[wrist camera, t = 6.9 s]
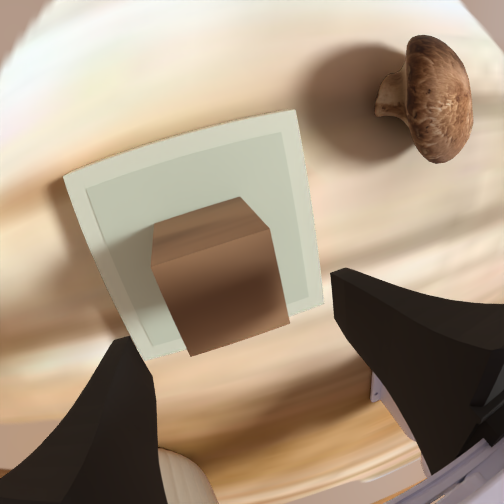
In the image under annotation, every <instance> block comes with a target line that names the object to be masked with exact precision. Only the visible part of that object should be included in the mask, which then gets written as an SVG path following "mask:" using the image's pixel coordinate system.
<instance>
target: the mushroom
mask: <svg viewBox="0 0 504 504" xmlns="http://www.w3.org/2000/svg"><path fill="white" fill-rule="evenodd" d="M375 115H376V116H377V117H380V116H395V117H398V118H400V119H401V120H403V121H404V122H405V123H406V125H407V126H408V127H409V130H410V132H411V135H412V139H413V142H414V144H415V146H416V147H417V149H418V151H419V152H420V153H421V154H422V155H423V157H425V158H426V159H427V160H428V161H429V162H432V163H435V164H437V163H445V162H447V161H449V160H451V159H453V158H454V157H455V156H456V155H457V154H458V153H459V152H460V151H461V149H462V148H463V147H464V145H465V143H466V142H467V140H468V139H469V136H470V133H471V129H472V126H473V111H472V98H471V90H470V83H469V78H468V75H467V73H466V70H465V67H464V65H463V63H462V61H461V60H460V59H459V57H458V56H457V54H456V53H455V52H454V51H453V50H452V49H451V48H450V47H449V46H448V45H446V44H445V43H444V42H442V41H441V40H439V39H437V38H434V37H432V36H427V35H418V36H415V37H412V38H411V39H410V41H409V42H408V45H407V50H406V60H405V63H404V65H403V67H402V69H401V70H400V71H399V72H398V73H392V74H389V75H388V76H386V78H385V79H384V80H383V82H382V83H381V86H380V88H379V91H378V94H377V97H376V101H375Z"/></svg>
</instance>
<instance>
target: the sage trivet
mask: <svg viewBox="0 0 504 504" xmlns="http://www.w3.org/2000/svg"><path fill="white" fill-rule="evenodd" d="M63 179H64V182H65V185H66V188H67V191H68V194H69V197H70V200H71V202H72V205H73V208H74V211H75V213H76V216H77V219H78V221H79V224H80V227H81V229H82V232H83V234H84V237H85V239H86V242H87V244H88V247H89V249H90V252H91V254H92V256H93V259H94V261H95V263H96V266H97V268H98V270H99V272H100V275H101V277H102V279H103V281H104V283H105V285H106V288H107V290H108V292H109V294H110V296H111V298H112V300H113V302H114V304H115V306H116V308H117V310H118V312H119V314H120V316H121V318H122V320H123V322H124V324H125V326H126V328H127V330H128V332H129V334H130V336H131V338H132V339H133V341H134V343H135V345H136V347H137V349H138V350H139V352H140V354H141V356H142V358H143V359H144V361H147V360H151V359H154V358H158V357H162V356H165V355H169V354H172V353H176V352H180V351H183V350H186V349H187V348H186V346H185V344H184V342H183V340H182V338H181V336H180V334H179V331H178V329H177V327H176V325H175V323H174V321H173V318H172V316H171V314H170V312H169V309H168V307H167V305H166V303H165V300H164V298H163V296H162V293H161V291H160V289H159V286H158V284H157V282H156V279H155V277H154V275H153V272H152V270H151V253H152V241H153V230H154V223H157V222H160V221H163V220H166V219H169V218H172V217H175V216H179V215H182V214H185V213H188V212H191V211H194V210H197V209H200V208H204V207H207V206H210V205H213V204H216V203H220V202H223V201H226V200H230V199H233V198H236V197H241V198H242V199H243V200H244V201H245V202H246V203H247V204H248V206H249V207H250V208H251V209H252V210H253V211H254V212H255V213H256V214H257V215H258V216H259V217H260V218H261V220H262V221H263V222H264V223H265V224H266V225H267V226H268V227H269V228H270V231H271V236H272V240H273V245H274V250H275V254H276V259H277V264H278V268H279V273H280V278H281V282H282V287H283V292H284V297H285V301H286V306H287V311H288V316H292V315H295V314H298V313H301V312H304V311H306V310H309V309H312V308H315V307H317V306H320V305H323V304H324V297H323V288H322V279H321V270H320V262H319V253H318V246H317V238H316V230H315V223H314V216H313V209H312V202H311V196H310V189H309V183H308V177H307V171H306V165H305V159H304V153H303V147H302V142H301V136H300V131H299V125H298V120H297V115H296V110H295V109H294V110H280V111H275V112H269V113H264V114H259V115H255V116H250V117H245V118H241V119H236V120H232V121H228V122H223V123H219V124H215V125H211V126H207V127H203V128H200V129H196V130H192V131H188V132H185V133H181V134H178V135H174V136H171V137H167V138H164V139H161V140H158V141H154V142H151V143H148V144H145V145H142V146H139V147H136V148H133V149H130V150H127V151H124V152H121V153H118V154H115V155H112V156H109V157H107V158H104V159H101V160H99V161H96V162H93V163H91V164H88V165H85V166H83V167H80V168H78V169H75V170H73V171H71V172H69V173H68V174H66V175H64V176H63Z"/></svg>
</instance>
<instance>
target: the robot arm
mask: <svg viewBox="0 0 504 504" xmlns="http://www.w3.org/2000/svg"><path fill="white" fill-rule="evenodd" d="M330 275H331V285H332V297H333V308H334V319H335V320H336V322H337V324H338V325H339V327H340V329H341V331H342V332H343V334H344V335H345V337H346V339H347V340H348V341H349V343H350V344H351V345H352V346H353V348H354V349H355V350H356V351H357V353H358V354H359V355H360V356H361V357H362V359H363V360H364V361H365V362H366V364H367V365H368V366H369V367H370V368H371V370H372V371H373V372H372V384H371V395H370V400H371V402H376V401H378V400H381V401H382V402H383V404H384V405H385V407H386V408H387V409H388V411H389V412H390V413H391V415H392V416H393V418H394V419H395V420H396V422H397V423H398V424H399V426H400V427H401V429H402V430H403V431H404V433H405V434H406V435H407V436H408V437H409V438H410V439H412V440H413V441H416V442H417V444H418V446H419V448H420V450H421V466H422V469H423V471H424V473H425V475H426V477H427V479H426V480H424V481H422V482H421V483H419V484H418V485H416V486H414V487H412V488H411V489H409V490H407V491H406V492H404V493H402V494H400V495H398V496H397V497H395V498H393V499H391V500H389V501H387V502H385V503H383V504H430V503H432V502H433V501H435V500H437V499H438V498H440V497H441V496H442V495H445V496H444V497H443V498H442V499H440V500H439V501H438V502H436V503H435V504H504V304H483V303H471V302H463V301H455V300H449V299H444V298H439V297H434V296H430V295H426V294H422V293H419V292H415V291H412V290H408V289H405V288H402V287H399V286H396V285H393V284H390V283H388V282H385V281H382V280H379V279H377V278H374V277H371V276H369V275H366V274H363V273H361V272H358V271H355V270H352V269H349V268H343V269H340V270H337V271H334V272H332V273H330ZM0 504H168V502H167V498H166V494H165V490H164V486H163V481H162V476H161V470H160V465H159V456H158V438H157V408H156V396H155V389H154V383H153V376H152V375H151V373H150V371H149V370H148V368H147V366H146V364H145V363H144V361H143V359H142V357H141V356H140V354H139V352H138V350H137V349H136V347H135V345H134V343H133V341H132V339H131V337H130V336H127V337H124V338H120V339H116V340H114V341H113V342H112V344H111V345H110V347H109V348H108V350H107V352H106V353H105V355H104V357H103V358H102V360H101V362H100V364H99V365H98V367H97V369H96V370H95V372H94V374H93V375H92V377H91V379H90V380H89V382H88V383H87V385H86V387H85V388H84V390H83V391H82V393H81V394H80V396H79V397H78V399H77V400H76V402H75V403H74V405H73V406H72V408H71V409H70V410H69V412H68V413H67V415H66V416H65V417H64V418H63V420H62V421H61V422H60V423H59V425H58V426H57V427H56V428H55V429H54V431H53V432H52V433H51V434H50V435H49V436H48V437H47V438H46V439H45V440H44V441H43V443H42V444H41V445H40V446H39V447H38V448H37V449H36V450H35V451H34V452H33V453H31V455H29V456H28V457H27V458H26V459H25V460H24V461H23V462H22V463H20V464H19V465H18V466H17V467H15V468H14V469H13V470H11V471H10V472H9V473H7V474H6V475H4V476H3V477H2V478H0Z"/></svg>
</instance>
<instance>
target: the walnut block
mask: <svg viewBox="0 0 504 504" xmlns="http://www.w3.org/2000/svg"><path fill="white" fill-rule="evenodd" d="M151 270H152V272H153V275H154V277H155V279H156V282H157V284H158V286H159V289H160V291H161V293H162V296H163V298H164V300H165V303H166V305H167V307H168V309H169V312H170V314H171V316H172V318H173V321H174V323H175V325H176V327H177V329H178V331H179V334H180V336H181V338H182V340H183V342H184V344H185V346H186V348H187V350H188V352H189V355H190V357H192V356H195V355H198V354H201V353H205V352H208V351H211V350H214V349H217V348H220V347H223V346H226V345H230V344H233V343H236V342H239V341H242V340H245V339H247V338H250V337H253V336H256V335H259V334H262V333H265V332H268V331H270V330H273V329H276V328H279V327H282V326H284V325H287V324H290V321H289V316H288V311H287V306H286V301H285V297H284V292H283V287H282V282H281V278H280V273H279V268H278V264H277V259H276V254H275V250H274V245H273V240H272V236H271V231H270V228H269V227H268V226H267V225H266V224H265V223H264V222H263V221H262V220H261V218H260V217H259V216H258V215H257V214H256V213H255V212H254V211H253V210H252V209H251V208H250V207H249V206H248V204H247V203H246V202H245V201H244V200H243V199H242V198H241V197H236V198H233V199H230V200H226V201H223V202H220V203H216V204H213V205H210V206H207V207H204V208H200V209H197V210H194V211H191V212H188V213H185V214H182V215H179V216H175V217H172V218H169V219H166V220H163V221H160V222H157V223H154V230H153V241H152V253H151Z"/></svg>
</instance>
